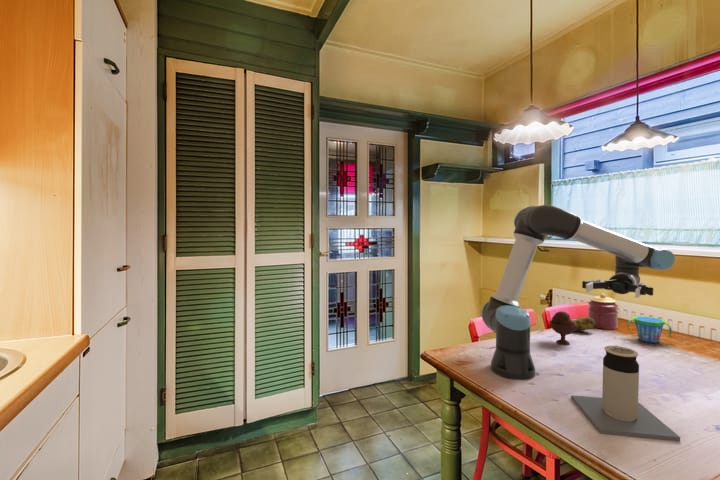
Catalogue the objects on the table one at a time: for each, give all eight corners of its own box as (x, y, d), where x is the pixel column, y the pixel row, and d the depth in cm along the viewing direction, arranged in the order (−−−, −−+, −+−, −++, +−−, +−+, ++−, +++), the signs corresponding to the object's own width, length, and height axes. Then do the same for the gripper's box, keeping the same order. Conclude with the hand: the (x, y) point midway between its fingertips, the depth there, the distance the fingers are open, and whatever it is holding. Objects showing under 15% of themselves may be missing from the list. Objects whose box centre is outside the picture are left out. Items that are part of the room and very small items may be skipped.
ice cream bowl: (581, 348, 147) (582, 314, 147) (554, 346, 149) (554, 313, 149) (571, 340, 158) (571, 308, 157) (545, 338, 160) (546, 307, 159)
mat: (599, 433, 87) (600, 428, 87) (570, 398, 105) (570, 394, 105) (680, 441, 84) (680, 436, 84) (636, 403, 101) (636, 399, 101)
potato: (567, 327, 178) (568, 312, 177) (596, 332, 168) (597, 316, 168) (562, 330, 172) (562, 315, 172) (592, 336, 162) (592, 320, 162)
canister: (600, 330, 171) (601, 296, 171) (582, 323, 184) (582, 291, 183) (624, 329, 172) (625, 295, 172) (604, 322, 185) (604, 290, 185)
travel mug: (645, 421, 90) (647, 356, 89) (614, 420, 91) (616, 355, 90) (623, 405, 98) (625, 345, 97) (595, 404, 99) (597, 345, 98)
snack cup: (626, 339, 157) (626, 318, 156) (628, 334, 164) (628, 314, 164) (671, 347, 146) (672, 324, 146) (671, 341, 154) (672, 319, 153)
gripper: (666, 297, 119) (659, 308, 104) (584, 288, 137) (569, 296, 122) (666, 276, 119) (660, 284, 104) (584, 270, 137) (569, 276, 122)
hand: (611, 291), depth 113 cm, fingers open, 13 cm apart
